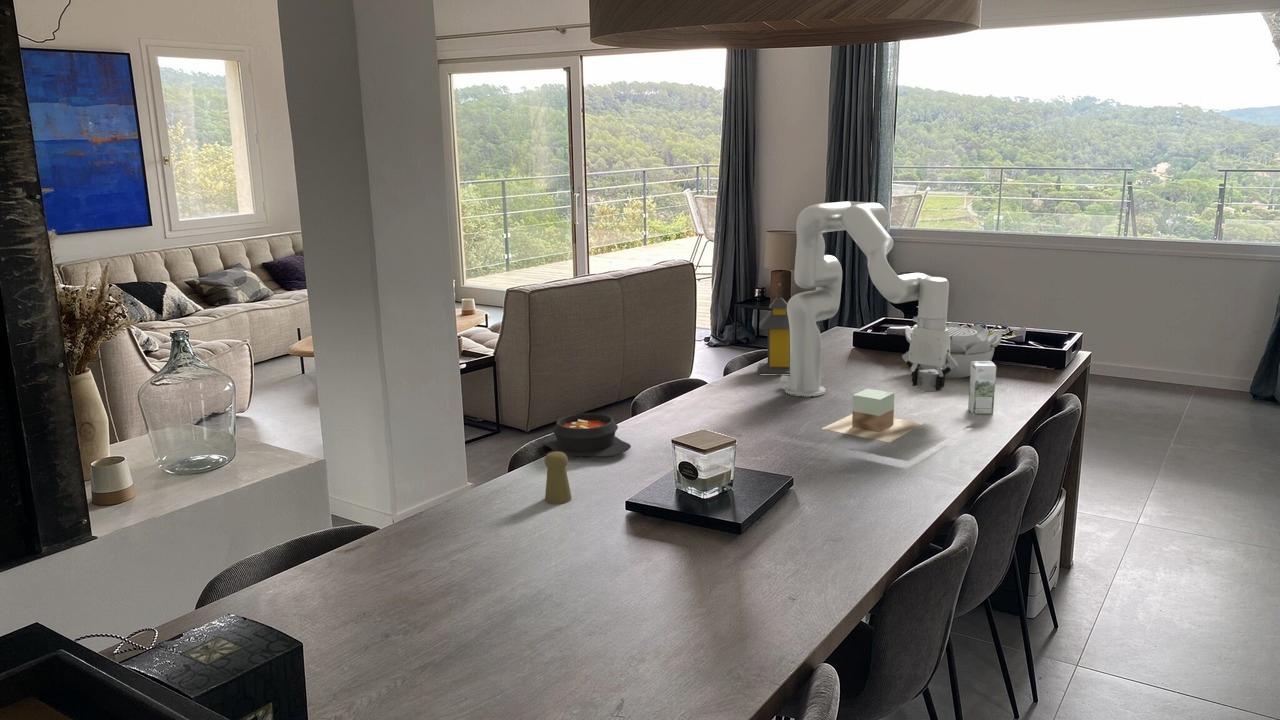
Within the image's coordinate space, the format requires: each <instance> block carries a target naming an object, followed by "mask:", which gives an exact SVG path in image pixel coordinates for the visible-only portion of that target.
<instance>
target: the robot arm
mask: <svg viewBox="0 0 1280 720" xmlns="http://www.w3.org/2000/svg"><path fill="white" fill-rule="evenodd" d="M888 222H889V214H888V211H887V210H886V207H884V206H883V205H882V204H880V203H878V202H869V201H868V202H867V201H866V202H865V201H849V200H848V201H836V202H834V201H833V202H823V203H816V204H812V205H809V206H807V207H804V209H803V210H801V212H799V215H798V216H797V219H796V224H795V225H796V226H795V228H796V229H795V230H796V231H795V232H796V249H795V259H794V261H795V262H794V271H793V272H794V273H793V274H794V275H793V276H794V283H795V284H796V285H797V287H800V289H806V290H807V289H814V288H815V290H808V291H803V292H799V293H796V294H794V295H793V296H791V298H790V299H789V300H788V301H787V303H788V304H787V315H788V320H789V327H790V375H780V379H779V383H781V384H782V383H783V384H786V386H785V387H784V393H786V394H787V393H788V394H787V395H789V394H790V395H789V396H793V395H794V396H793V397H799V396H802V397H801V398H811V396H813V397H819V396H822V395H824V394H825V393H826V387H824V386H823V385H821V381H822V380H821V377H822V375H821V371H822V370H821V365H822V359H821V358H822V335H821V331H820V329H819V327H818V324H817V322H820V321H826V320H829V319H831V318H834V317H835V315H837V313H838V311H839V308H840V305H841V304H840V303H841V293H842V283H843V269H842V264H841V262H840V261H839V259H838V258H836V257H835V256H834V255H831V254H825V250H826V244H825V243H826V242H825V238H824V236H823V234H822V233H828V232H829V233H830V232H839V231H846V232H847V233H848V234H849V236H850V238H852V240H853V241H854V242H855V243H856V245H857V246H858V248H859V249H860V250H861V251H862V253H864V255H865V257H866V258H867V268H868V275H869V277H870V280H871V282H872V284H873V285H874V286H875V288H876V289H877V290H878V292H879V293H880V294H881V295H882V296H883V298H884V299H886V300H887V301H888V302H890V303H892V304H903V303H907V302H913V301H918V308H917V309H918V310H917V316H913V318H912V321H913V322H915V323H916V325H915V326H914V327H913V329H912V330H913V333H912V337H911V342H910V343H909V350H908V351H906V352H905V353H904V354H902V355H901V358H902V359H903V361H904V362H905V363H906V365H907V366H908V368H909V369H910V372H911V382H912V387H916V385H917V370H920V368H921V367H920V365H927V366H933V367H936V368H937V371H938V374H939V375H938V376H937V379H936V390H937V391H939V390H941V387H942V390H943V389H944V387H945V383H946V382H945V381H946V378H945V375H946V374H947V373H949V372H950V371H951V370H952V369H954V368H955V367H956V366H957V365H958V364H957V362H956V361H955V360H954V358H953V357H952V356H951V355H950V337H949V331H948V329H946V325H947V324H948V323H947V322H948V320H947V319H948V310H949V309H948V308H949V307H948V306H949V292H950V282H949V279H947V278H945V277H941V276H931V275H928V274H926V273H922V272H911V273H904V274H897V273H896V272H895V271H894V269H893V268H892V267H891V265H890V263H889V262H888V259H887V255H888V254H889V253H890V252H891V250H892V249H893V247H894V243H895V242H894V240H893V238H892V237H891V236H892V235H890V234H889V233H888V232H887V230H886V229H885V228H886V226H887V225H888V224H889V223H888ZM948 363H950V365H949V366H948V367H947V368H946V367H945V364H948ZM803 396H804V397H803Z"/></svg>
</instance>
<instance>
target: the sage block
mask: <svg viewBox="0 0 1280 720" xmlns="http://www.w3.org/2000/svg"><path fill="white" fill-rule="evenodd" d="M893 409H894V410H895V392H892V391H891V392H890V391H886V390H885V391H884V390H879V389H878V390H877V389H871V388H865V389H863V390H861V391H858V392H856V393H854V394H853V395H852V411H855V412H860V413H866V414H871V415H877V416H881V415H883V414H885V413H887V412H889V411H891V410H893Z"/></svg>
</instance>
